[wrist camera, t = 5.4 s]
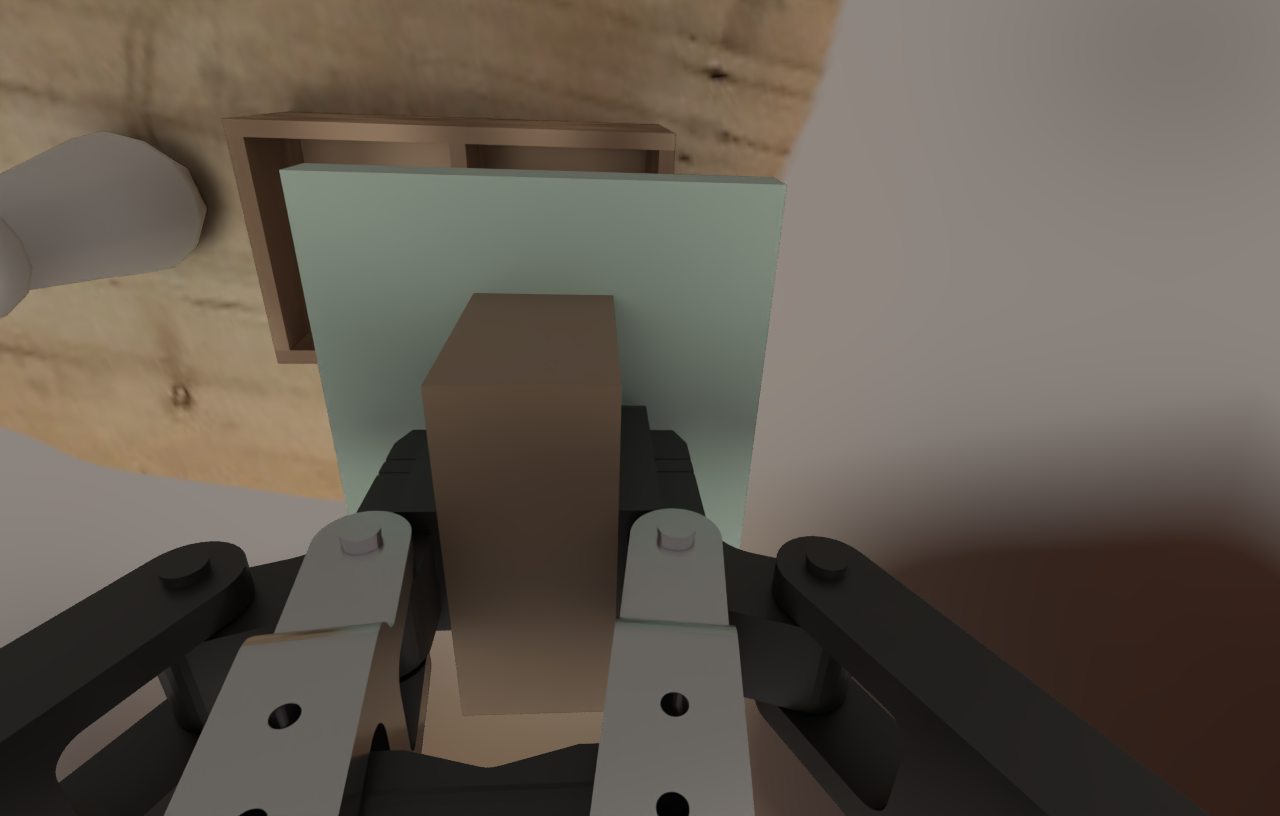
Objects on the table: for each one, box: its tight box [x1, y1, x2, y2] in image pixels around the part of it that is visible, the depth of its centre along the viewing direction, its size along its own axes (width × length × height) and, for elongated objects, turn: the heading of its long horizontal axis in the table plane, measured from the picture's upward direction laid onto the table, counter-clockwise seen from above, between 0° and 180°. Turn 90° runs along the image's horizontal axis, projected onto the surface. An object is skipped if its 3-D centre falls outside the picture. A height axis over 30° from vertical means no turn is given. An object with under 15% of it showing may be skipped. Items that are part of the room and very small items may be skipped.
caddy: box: [222, 112, 676, 364], centre depth 29 cm, size 17×10×6 cm, turn 88°
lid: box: [279, 163, 787, 716], centre depth 12 cm, size 8×10×5 cm
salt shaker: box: [0, 131, 207, 318], centre depth 24 cm, size 6×6×13 cm
